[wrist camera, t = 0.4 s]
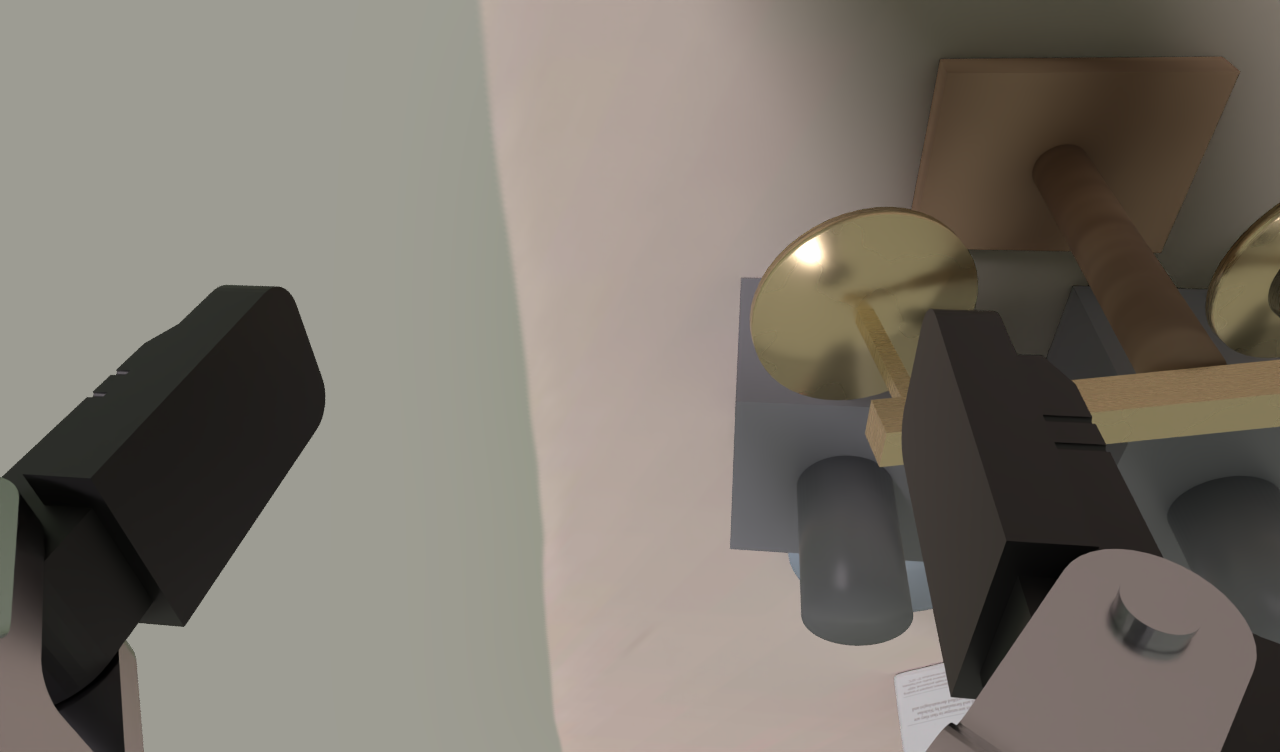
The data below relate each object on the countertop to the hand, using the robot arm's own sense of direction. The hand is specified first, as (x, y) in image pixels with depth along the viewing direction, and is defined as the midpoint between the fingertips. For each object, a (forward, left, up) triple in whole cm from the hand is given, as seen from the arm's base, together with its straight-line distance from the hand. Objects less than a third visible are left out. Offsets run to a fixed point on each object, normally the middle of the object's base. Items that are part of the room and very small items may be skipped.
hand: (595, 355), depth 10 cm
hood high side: (+15, +6, -18) cm, 24 cm away
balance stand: (+6, +12, -18) cm, 22 cm away
